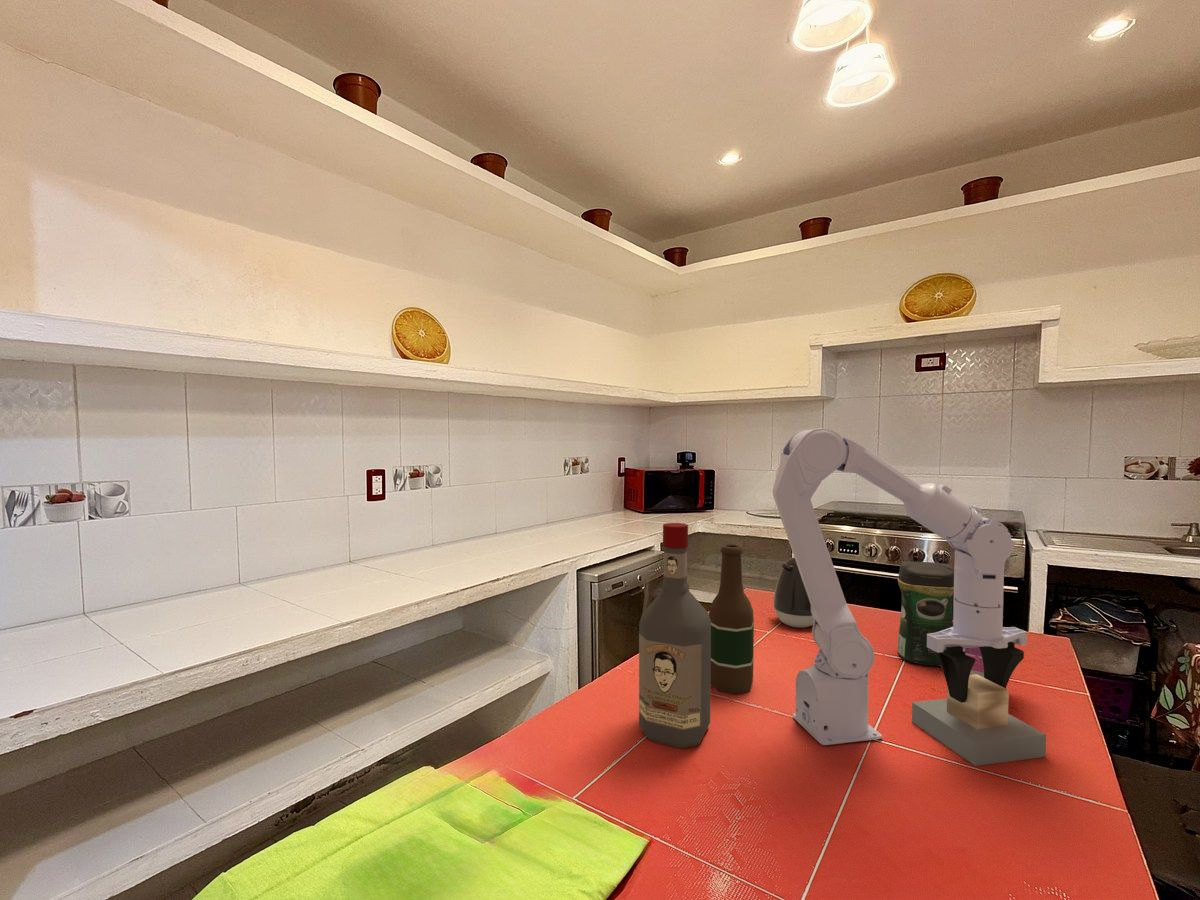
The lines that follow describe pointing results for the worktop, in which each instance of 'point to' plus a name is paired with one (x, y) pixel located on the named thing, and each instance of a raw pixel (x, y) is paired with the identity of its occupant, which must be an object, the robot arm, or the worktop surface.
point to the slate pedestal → (979, 735)
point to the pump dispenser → (792, 597)
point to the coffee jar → (924, 607)
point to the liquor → (675, 654)
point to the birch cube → (981, 704)
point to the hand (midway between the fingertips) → (975, 697)
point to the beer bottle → (731, 628)
